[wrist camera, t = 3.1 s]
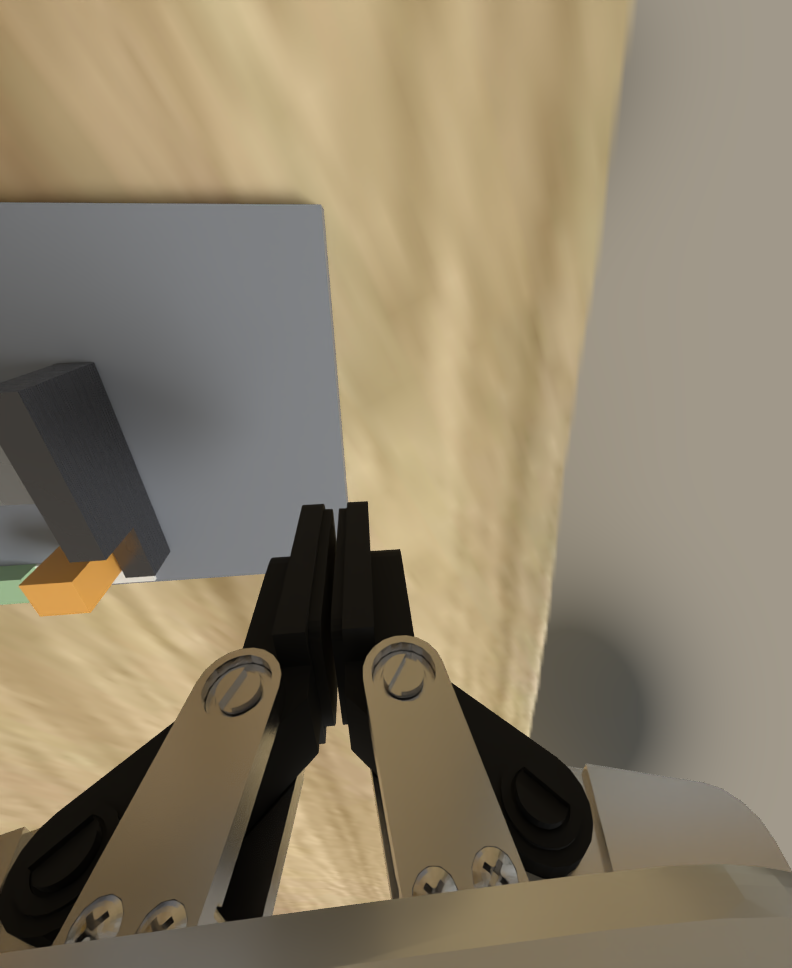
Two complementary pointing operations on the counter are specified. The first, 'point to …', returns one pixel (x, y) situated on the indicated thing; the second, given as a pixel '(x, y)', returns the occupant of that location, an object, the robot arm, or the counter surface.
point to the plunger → (77, 468)
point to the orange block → (69, 584)
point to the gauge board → (185, 367)
